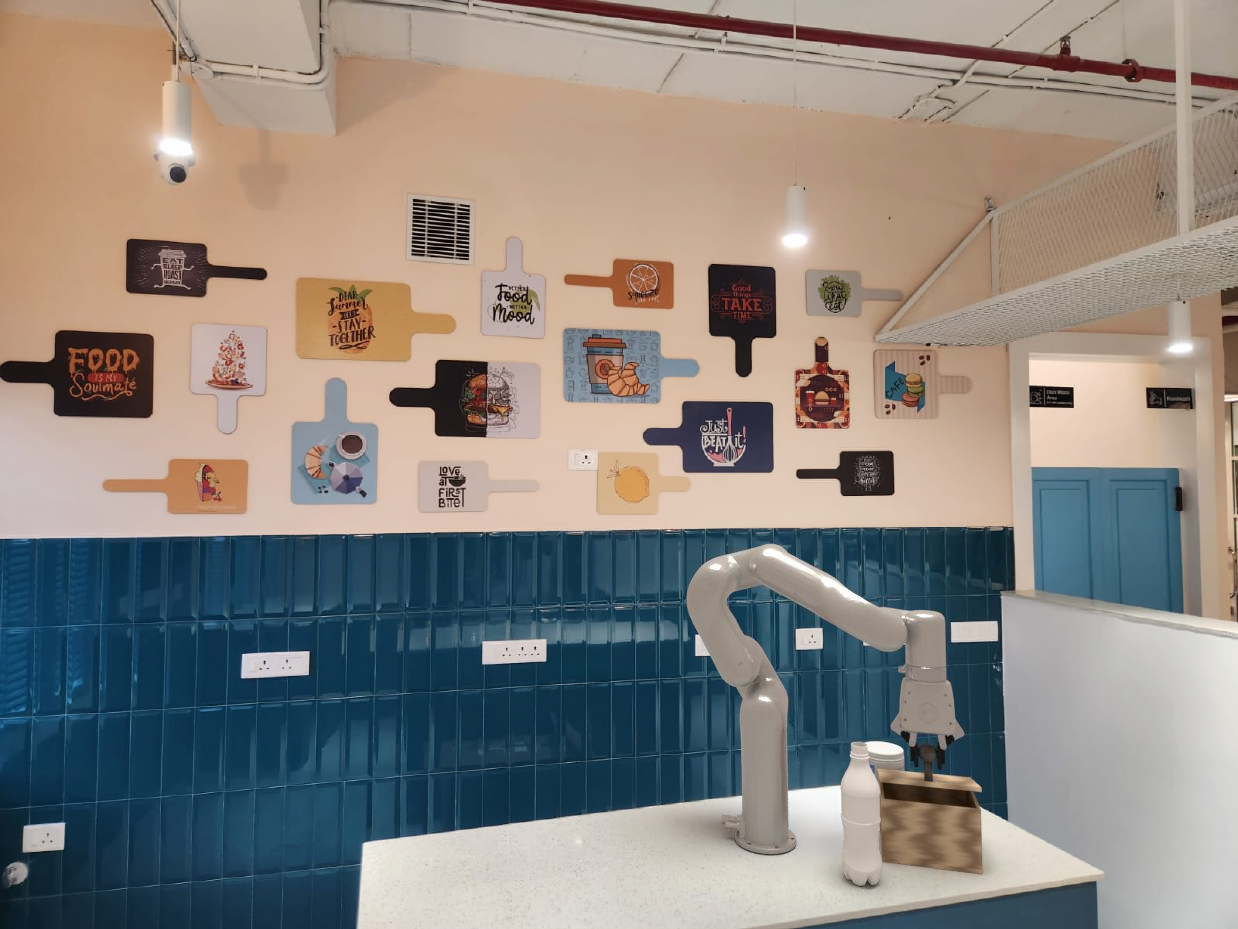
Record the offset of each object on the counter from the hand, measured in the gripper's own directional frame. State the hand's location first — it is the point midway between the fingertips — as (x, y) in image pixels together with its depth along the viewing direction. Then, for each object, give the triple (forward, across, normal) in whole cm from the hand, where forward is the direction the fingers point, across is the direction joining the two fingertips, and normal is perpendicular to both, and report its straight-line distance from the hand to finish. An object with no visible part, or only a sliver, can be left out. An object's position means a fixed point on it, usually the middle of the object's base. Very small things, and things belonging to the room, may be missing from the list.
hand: (927, 765), depth 151 cm
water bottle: (+18, -13, -12) cm, 26 cm away
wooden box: (+18, 0, +4) cm, 19 cm away
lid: (+4, 0, +4) cm, 6 cm away
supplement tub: (+18, -8, +21) cm, 29 cm away
